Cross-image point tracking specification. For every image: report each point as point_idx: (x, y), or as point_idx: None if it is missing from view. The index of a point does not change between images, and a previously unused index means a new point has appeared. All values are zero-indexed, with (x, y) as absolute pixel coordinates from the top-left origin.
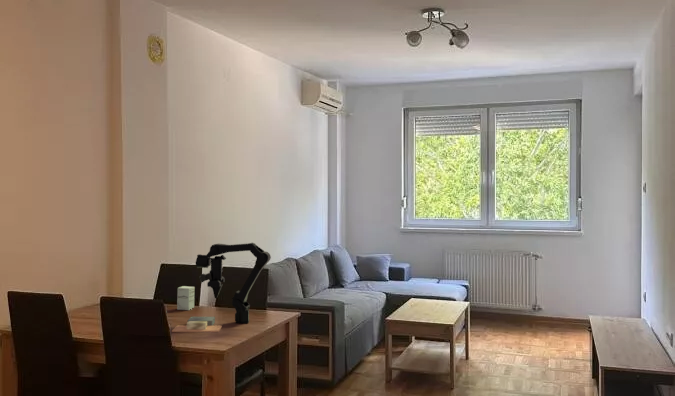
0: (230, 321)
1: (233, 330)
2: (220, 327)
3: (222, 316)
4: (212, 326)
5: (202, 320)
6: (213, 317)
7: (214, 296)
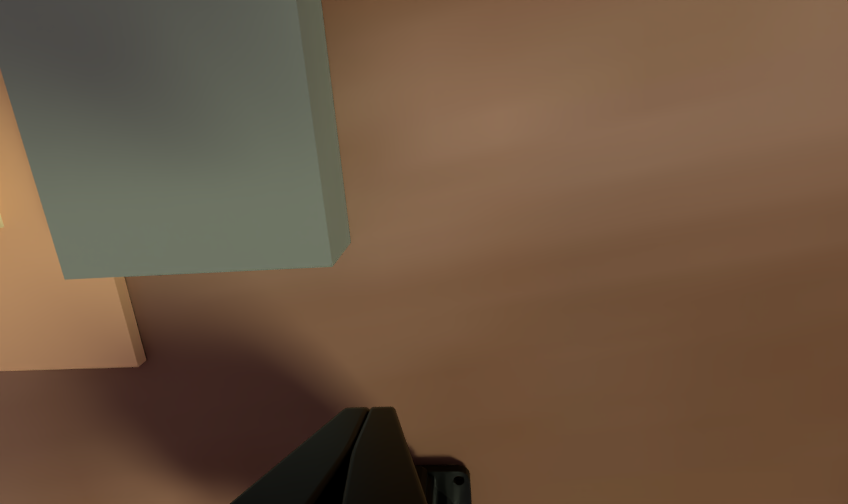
0: (438, 402)
1: (25, 481)
2: (41, 368)
3: (766, 262)
4: (59, 277)
5: (33, 149)
6: (274, 257)
7: (315, 434)
